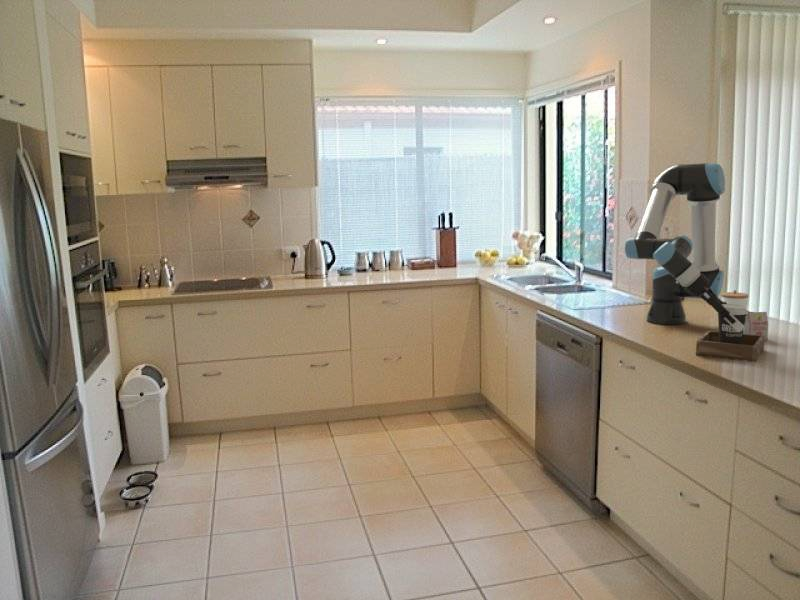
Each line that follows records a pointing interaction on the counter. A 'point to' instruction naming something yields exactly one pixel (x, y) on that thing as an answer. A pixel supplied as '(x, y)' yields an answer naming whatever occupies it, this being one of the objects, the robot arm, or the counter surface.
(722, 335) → the coffee cup
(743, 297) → the lidded jar
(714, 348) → the walnut crate
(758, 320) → the small food carton
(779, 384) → the counter surface
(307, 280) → the counter surface
